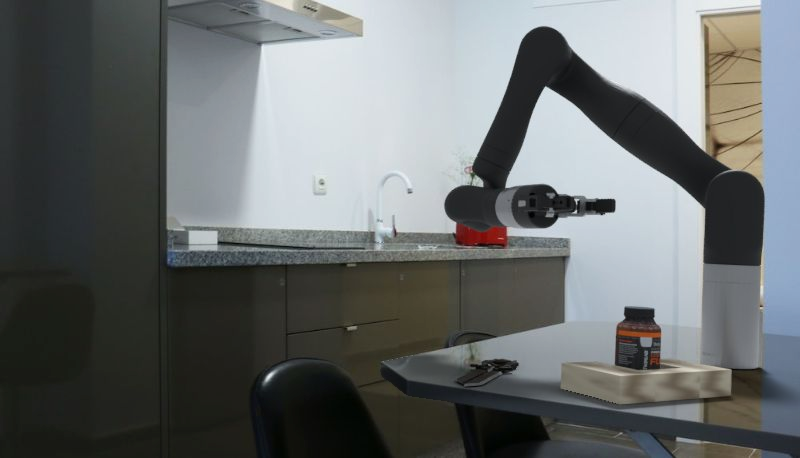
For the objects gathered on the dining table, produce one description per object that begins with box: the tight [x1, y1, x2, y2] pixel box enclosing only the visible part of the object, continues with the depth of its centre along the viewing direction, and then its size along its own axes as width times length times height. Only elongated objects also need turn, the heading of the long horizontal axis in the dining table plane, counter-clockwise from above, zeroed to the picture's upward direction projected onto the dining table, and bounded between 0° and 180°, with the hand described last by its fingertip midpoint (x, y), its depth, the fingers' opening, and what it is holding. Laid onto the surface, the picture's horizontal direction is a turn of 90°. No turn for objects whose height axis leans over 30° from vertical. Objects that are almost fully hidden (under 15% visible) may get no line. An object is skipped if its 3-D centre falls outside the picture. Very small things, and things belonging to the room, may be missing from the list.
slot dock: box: [560, 357, 733, 405], centre depth 112 cm, size 20×11×4 cm, turn 119°
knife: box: [455, 358, 520, 387], centre depth 122 cm, size 25×6×1 cm, turn 155°
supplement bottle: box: [614, 305, 662, 370], centre depth 113 cm, size 6×6×11 cm
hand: (593, 204), depth 129 cm, fingers open, 8 cm apart
